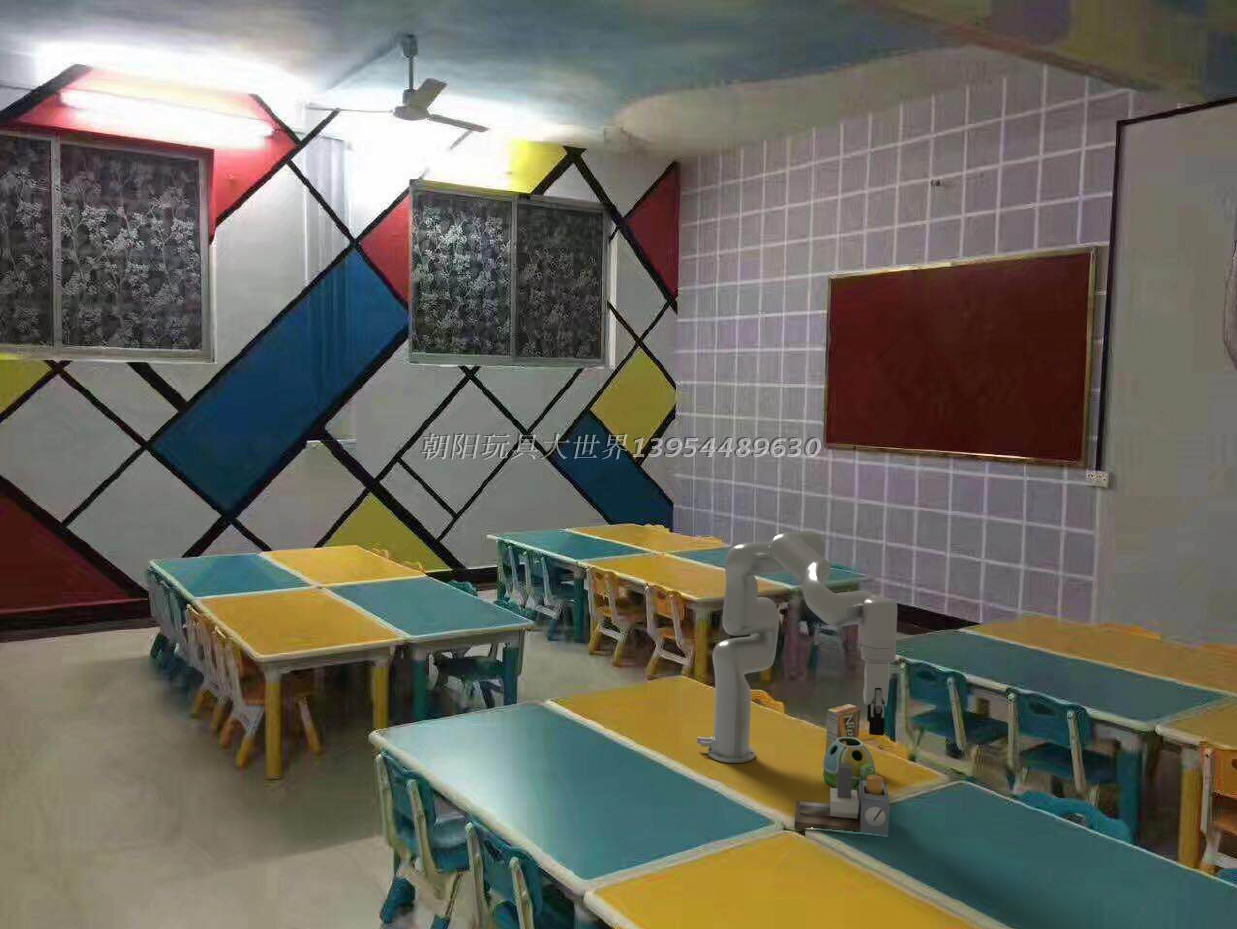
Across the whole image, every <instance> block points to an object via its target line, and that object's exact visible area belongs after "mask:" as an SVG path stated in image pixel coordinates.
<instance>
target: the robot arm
mask: <svg viewBox="0 0 1237 929" xmlns="http://www.w3.org/2000/svg"><path fill="white" fill-rule="evenodd" d="M825 554H826V546H825V542H824V540H823V539H822V537H821V536H820V535H819V534H817V533H816V532H814V531H810V530H802V531H801V530H800V531H787V532H782V533H779V534H777V535H775V536H774V537H773V538H772V539H771V540H768V541H754V542H744V543H740V544H736V545H734V546H733V547H731V548H730V549H729V550H728V552H727V554H726V556H725V560H724V561H725V562H724V570H725V590H724V599H723V607H722V608H723V609H722V628H723V630H724V631H725V633H726V634H728V635H731V636H734V637H735V636H739V637H735V638H734V637H733V638H728V639H725V640H722V641H720V642H719V643H717V644H716V645H715V647H714V648H713V651H712V664H713V665H712V666H713V669H714V670H713V671H714V680H715V681H714V683H715V684H714V687H715V690H714V724H713V726H714V727H713V735H712V736H709V737H704V736H697V745H700V747H704V748H706V747H707V755H708V757H710V758H711V759H712V760H715V761H718V762H723V763H730V764H741V763H747V762H750V761H752V760H754V758H755V757H756V756H755V755H756V752H755V750H754V749H753V748H751V747H750V738H751V737H750V735H751V733H750V732H751V731H750V730H751V711H752V710H751V709H752V708H751V705H752V704H751V703H752V690H751V687H750V684H749V682H748V681H747V679H746V676H745V675H747V674H750V673H758V672H762V671H766V670H768V669H770V668H771V667H772V665H773V664H774V662H775V659H776V652H777V644H778V635H779V629H780V614H779V609H778V606H777V605H776V603H775V602H774V600H772V599H771V598H769V597H766V596H758V592H759V584H758V581H757V579H756V576H760V575H761V576H763V575H774V574H783V573H788V575H790V577H792V578H793V579H794V580H795V581H796V582H798V583H799V584H800V586H802V594H803V598H804V602H805V604H806V606H807V607H808V609H809V610H810V611H811V612H812V613H813V614H814V615H815V616H817V617H818V618H819V619H820V620H821V621H823V622H824V623H826V624H828V625H829V626H831V627H836V628H837V627H838V628H839V627H846V626H852V625H861V646H860V651H861V652H860V655H861V656H860V659H861V660H863V661H865V663H864V671H863V672H864V673H863V693H862V698H863V703H864V705H865V706H867V716H866V717H867V718H866V721H867V722H869V724H868V725H869V726H868V733H869V735H870V736H884V735H885V721H886V720H885V719H886V718H885V707H887V706H888V697H889V688H890V686H889V684H890V671H891V670H890V666H891V665H890V664H891V663H895V662H896V656H897V655H896V654H897V652H896V651H897V624H898V604H897V602H896V600H894V599H892V598H889V597H884V596H883V597H882V596H879V595H876V594H875V593H873V592H870V591H868V590H856V591H855V590H853V591H846V592H845V591H844V592H838V593H835V592H834V591H832V590H830V589H829V588H828V587H827V586H825V583H826V582H827V581H828V579H829V577H830V575H831V570H832V568H831V564H830V562H829V561H828V560H827V559H826V558H825ZM748 635H749V636H748ZM740 636H741V637H740Z"/></svg>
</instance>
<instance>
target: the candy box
mask: <svg viewBox="0 0 1237 929" xmlns="http://www.w3.org/2000/svg"><path fill="white" fill-rule="evenodd" d="M860 717H861V708H860V707H859V706H856V705H853V704H849V703H847V704H844V705H841V706H836V707H832V708H829V709H828V710H827V716H826V719H827V720H826V736H825V753H826V752H827V750H828V748H829V747H830V746H831V744H832V743H833V742H834V741H836V739H837V738H840V737H853V738H857V739H859V736H860V719H861V718H860ZM859 740H860V739H859ZM840 743H842V744H846V743H847V742H845V741H842V742H840Z"/></svg>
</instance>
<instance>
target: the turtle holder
mask: <svg viewBox="0 0 1237 929" xmlns="http://www.w3.org/2000/svg"><path fill="white" fill-rule="evenodd" d="M842 741H845V742H847V743H846V744H842V743H840V742H842ZM838 763H846V764H852V789H851V790H857V793H859V781H860V780H867V776H868V775H878V773H877V771H876V766H875V762H874V758H873V755H872V754H871V752H870V750H868V747H866V746H865V745H864V742H863V741H862V740H860V739H857V738H853V737H840V738H837V739H836V741H834V742H833V743H832V744H831V746H830V747H829V748H828V750H827V752H826V751H825V755H824V758H823V763H822V767H823V772H822V776H823V779H824V780H823V782H824V783H825V784H826V785H830V786H833V788H837V786H838Z"/></svg>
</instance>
